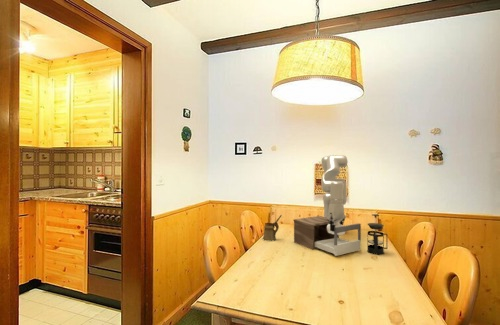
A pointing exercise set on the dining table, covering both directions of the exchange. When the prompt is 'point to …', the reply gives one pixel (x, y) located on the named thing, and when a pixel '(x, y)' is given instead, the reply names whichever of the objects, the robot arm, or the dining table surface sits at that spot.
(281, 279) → the dining table surface
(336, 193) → the robot arm
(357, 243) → the pull-out tray
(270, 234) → the wooden mug
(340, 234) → the white tied sack
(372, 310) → the dining table surface
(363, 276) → the dining table surface
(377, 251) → the french press
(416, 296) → the dining table surface
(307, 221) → the walnut cabinet
